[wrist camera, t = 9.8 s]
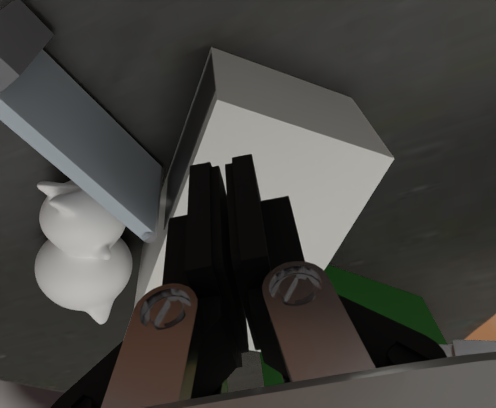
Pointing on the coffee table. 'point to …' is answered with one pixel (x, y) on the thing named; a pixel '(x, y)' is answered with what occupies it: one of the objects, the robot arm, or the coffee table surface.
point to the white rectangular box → (274, 154)
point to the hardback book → (375, 308)
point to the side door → (73, 126)
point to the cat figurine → (80, 251)
